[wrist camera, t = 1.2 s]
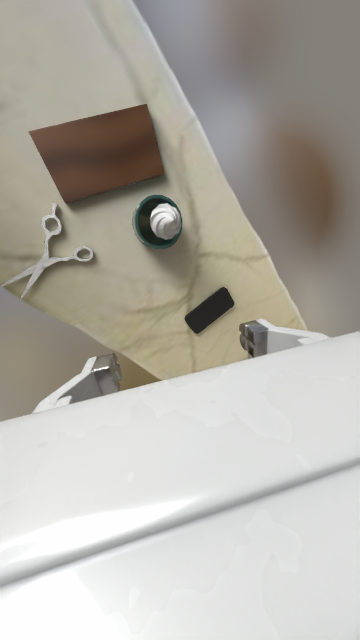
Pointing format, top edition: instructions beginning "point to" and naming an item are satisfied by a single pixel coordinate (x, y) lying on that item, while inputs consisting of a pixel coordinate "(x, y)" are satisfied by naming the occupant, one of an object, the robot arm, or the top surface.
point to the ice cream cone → (165, 221)
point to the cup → (144, 227)
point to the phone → (209, 310)
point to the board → (100, 152)
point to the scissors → (47, 254)
